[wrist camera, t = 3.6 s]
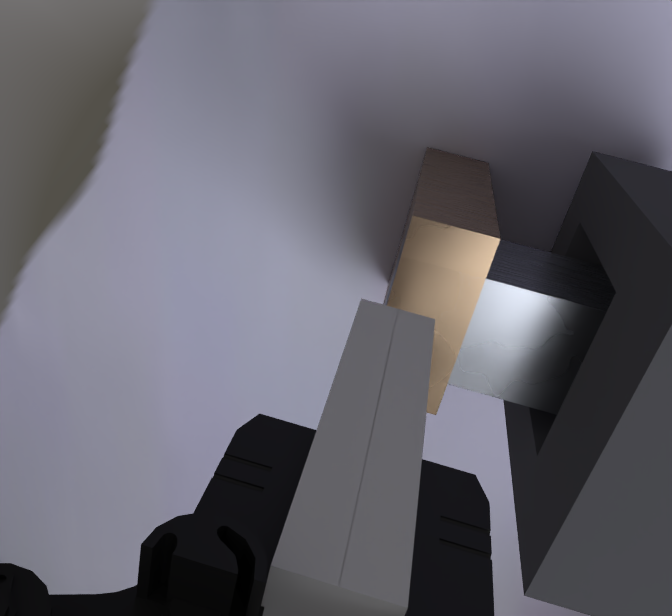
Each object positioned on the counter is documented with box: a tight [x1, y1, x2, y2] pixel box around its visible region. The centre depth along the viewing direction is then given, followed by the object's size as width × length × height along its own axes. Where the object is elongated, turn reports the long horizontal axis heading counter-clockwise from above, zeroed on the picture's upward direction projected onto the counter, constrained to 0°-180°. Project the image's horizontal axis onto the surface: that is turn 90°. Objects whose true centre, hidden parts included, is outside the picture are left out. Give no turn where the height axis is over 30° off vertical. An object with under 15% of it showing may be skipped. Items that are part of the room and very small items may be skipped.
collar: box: [504, 151, 672, 616], centre depth 16 cm, size 3×8×9 cm, turn 168°
